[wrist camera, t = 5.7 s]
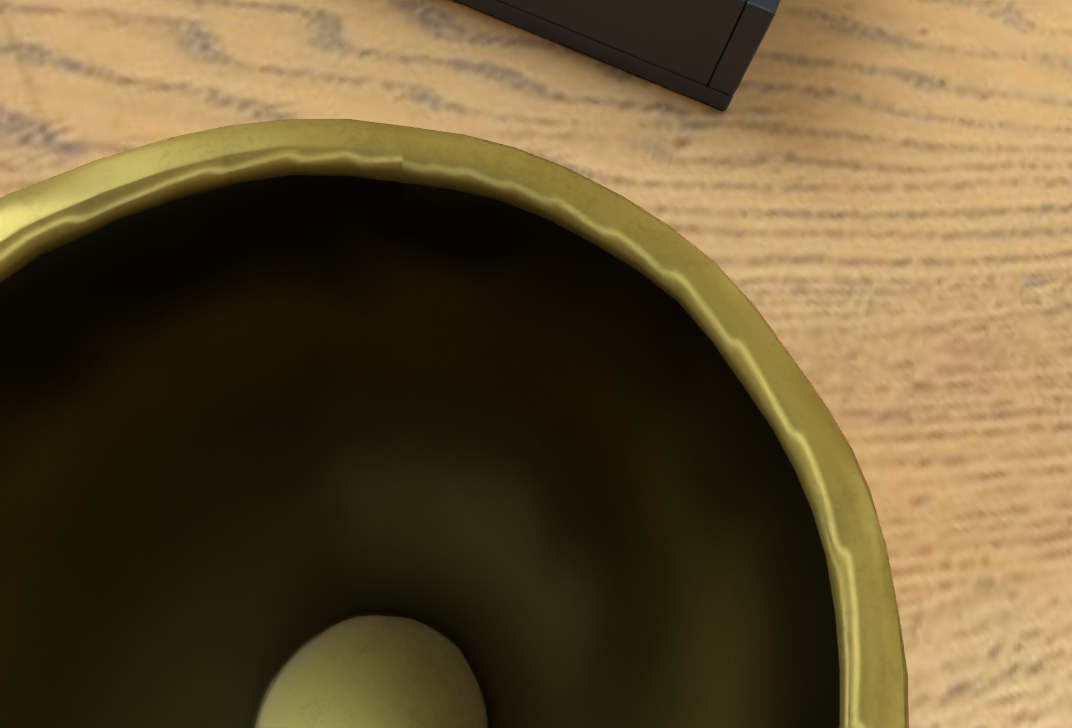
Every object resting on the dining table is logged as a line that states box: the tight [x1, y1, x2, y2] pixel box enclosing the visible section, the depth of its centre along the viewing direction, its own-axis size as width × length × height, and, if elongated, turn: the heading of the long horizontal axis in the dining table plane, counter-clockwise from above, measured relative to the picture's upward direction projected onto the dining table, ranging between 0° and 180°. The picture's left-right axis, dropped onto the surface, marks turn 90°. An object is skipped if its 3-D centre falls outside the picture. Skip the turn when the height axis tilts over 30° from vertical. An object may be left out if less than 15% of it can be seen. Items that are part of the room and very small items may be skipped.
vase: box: [0, 119, 909, 728], centre depth 10 cm, size 6×6×14 cm
